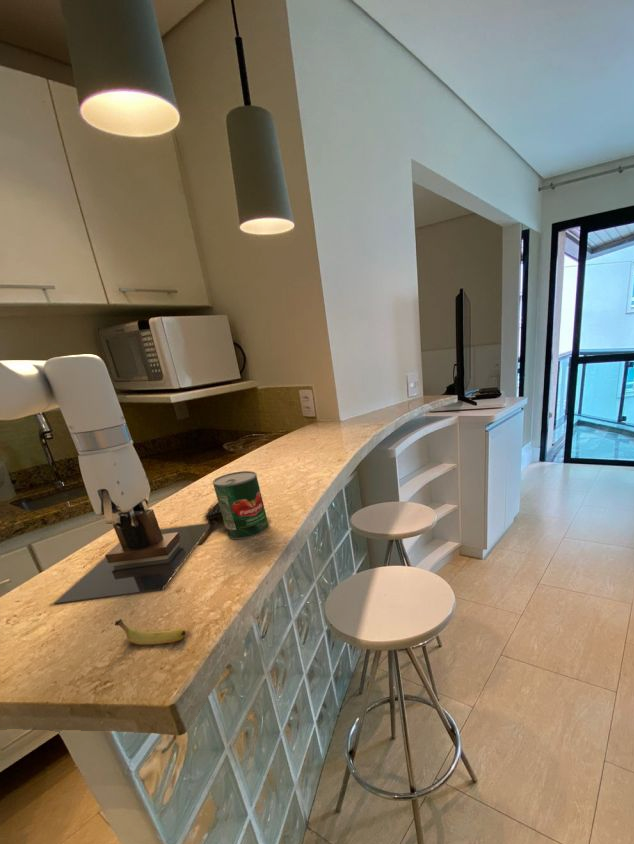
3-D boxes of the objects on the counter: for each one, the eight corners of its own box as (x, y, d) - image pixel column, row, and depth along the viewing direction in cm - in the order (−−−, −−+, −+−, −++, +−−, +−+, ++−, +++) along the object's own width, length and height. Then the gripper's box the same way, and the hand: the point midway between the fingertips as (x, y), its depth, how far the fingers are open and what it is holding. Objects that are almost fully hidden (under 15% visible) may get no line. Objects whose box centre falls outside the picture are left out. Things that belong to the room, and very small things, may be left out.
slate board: (56, 608, 61) (53, 603, 60) (134, 537, 83) (132, 533, 82) (165, 594, 61) (163, 588, 61) (213, 527, 83) (212, 522, 83)
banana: (122, 651, 50) (110, 625, 48) (131, 642, 51) (119, 616, 50) (185, 648, 49) (175, 621, 47) (192, 638, 51) (183, 612, 49)
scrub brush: (109, 567, 69) (91, 525, 66) (127, 550, 75) (111, 510, 71) (169, 559, 69) (154, 516, 66) (182, 543, 75) (168, 503, 72)
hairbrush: (246, 475, 105) (241, 503, 82) (249, 489, 107) (245, 520, 84) (213, 481, 104) (198, 512, 81) (216, 495, 105) (203, 529, 82)
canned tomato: (240, 522, 84) (227, 471, 80) (275, 521, 82) (263, 469, 78) (219, 540, 77) (203, 485, 73) (257, 540, 75) (243, 484, 71)
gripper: (106, 431, 71) (142, 526, 78) (44, 455, 56) (95, 569, 64) (150, 426, 71) (181, 521, 79) (99, 448, 57) (144, 563, 64)
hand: (142, 542), depth 71 cm, fingers closed on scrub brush, 2 cm apart
